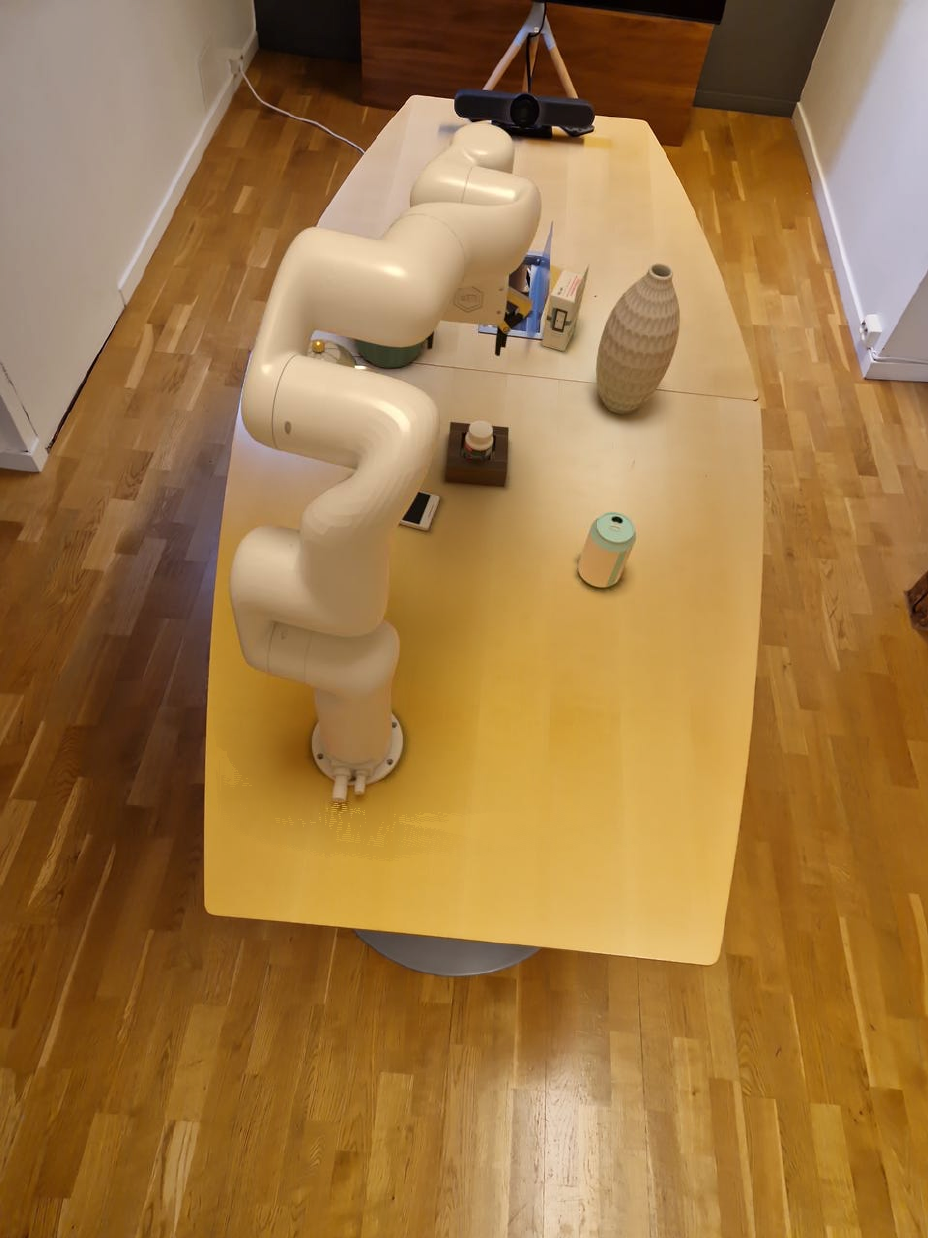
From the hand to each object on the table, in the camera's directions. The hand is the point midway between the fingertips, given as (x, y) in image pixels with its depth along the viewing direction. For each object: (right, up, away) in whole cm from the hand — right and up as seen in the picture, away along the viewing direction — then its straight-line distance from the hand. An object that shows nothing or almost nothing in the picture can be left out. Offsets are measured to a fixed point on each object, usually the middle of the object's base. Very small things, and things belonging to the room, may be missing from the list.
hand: (464, 345), depth 116 cm
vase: (+29, +2, +37) cm, 47 cm away
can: (+22, -31, +16) cm, 42 cm away
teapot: (-23, -2, +30) cm, 38 cm away
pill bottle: (+2, -12, +26) cm, 29 cm away
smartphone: (-12, -20, +20) cm, 31 cm away
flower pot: (-14, +13, +40) cm, 44 cm away
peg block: (+2, -11, +26) cm, 29 cm away
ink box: (+19, +17, +45) cm, 52 cm away
